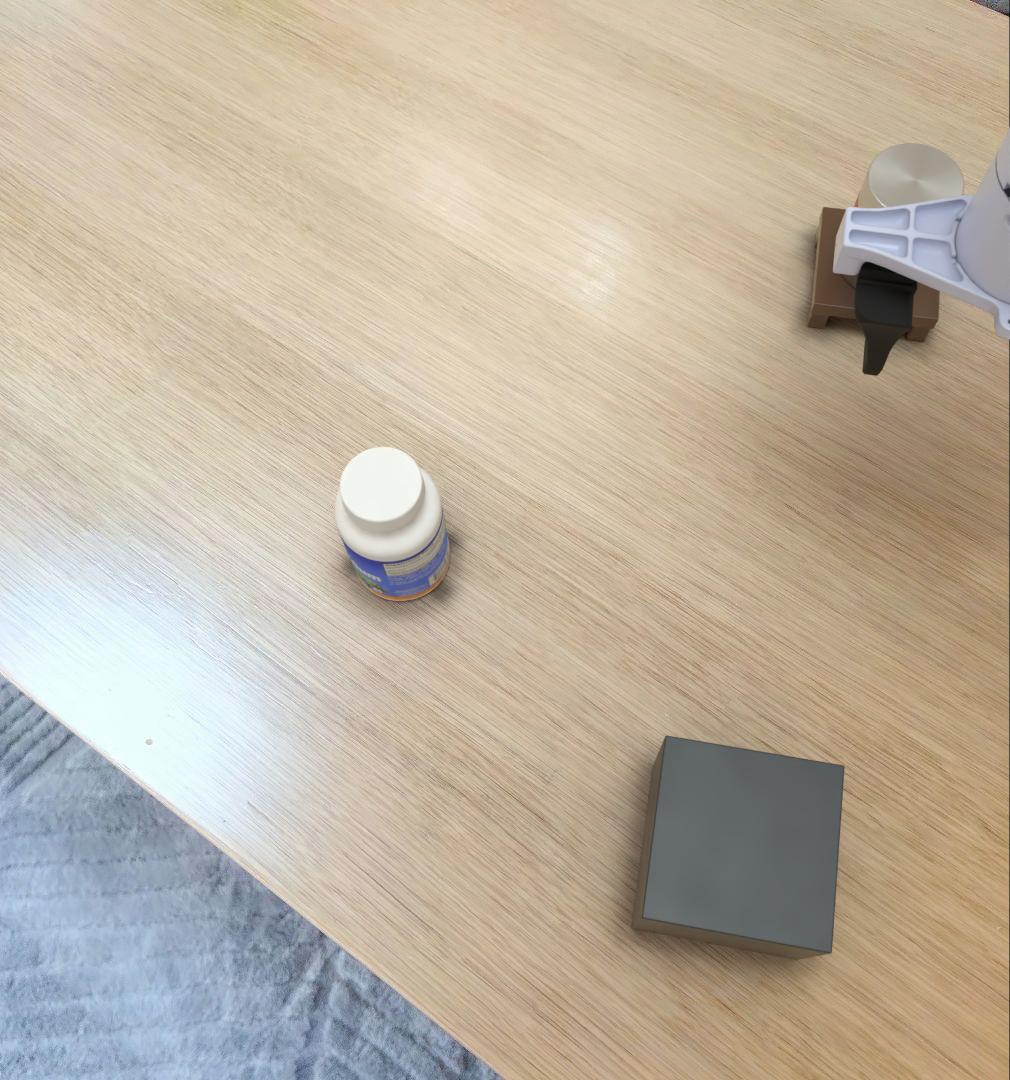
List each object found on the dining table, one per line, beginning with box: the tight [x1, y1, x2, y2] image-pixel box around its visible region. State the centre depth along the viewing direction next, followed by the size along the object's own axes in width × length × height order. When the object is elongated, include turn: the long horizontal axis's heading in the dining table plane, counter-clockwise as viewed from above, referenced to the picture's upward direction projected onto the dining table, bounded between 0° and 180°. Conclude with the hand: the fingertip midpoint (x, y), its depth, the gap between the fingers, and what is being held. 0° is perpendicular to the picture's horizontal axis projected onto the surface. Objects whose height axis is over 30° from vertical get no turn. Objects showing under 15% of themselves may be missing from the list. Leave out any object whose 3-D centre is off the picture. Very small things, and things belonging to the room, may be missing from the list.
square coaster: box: [630, 735, 846, 961], centre depth 52 cm, size 8×8×7 cm
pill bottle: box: [333, 446, 451, 602], centre depth 58 cm, size 5×5×10 cm
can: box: [842, 142, 965, 288], centre depth 62 cm, size 5×5×7 cm
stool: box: [806, 206, 941, 343], centre depth 66 cm, size 7×7×2 cm
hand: (953, 368), depth 53 cm, fingers open, 7 cm apart
